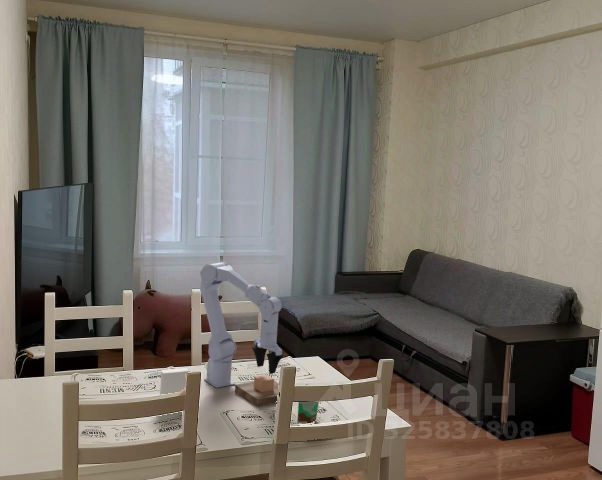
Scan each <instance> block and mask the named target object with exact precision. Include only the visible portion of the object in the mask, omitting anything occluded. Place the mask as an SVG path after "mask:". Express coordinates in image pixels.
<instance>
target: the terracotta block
mask: <svg viewBox="0 0 602 480" xmlns="http://www.w3.org/2000/svg"><path fill="white" fill-rule="evenodd" d="M274 381H275V378H274V377H271V376H270V375H268V374H261V375H256V376H254V378H253V382H254V388H255V389H257V390H258V391H260V392H265V391H271V390H273V388H274Z"/></svg>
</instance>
